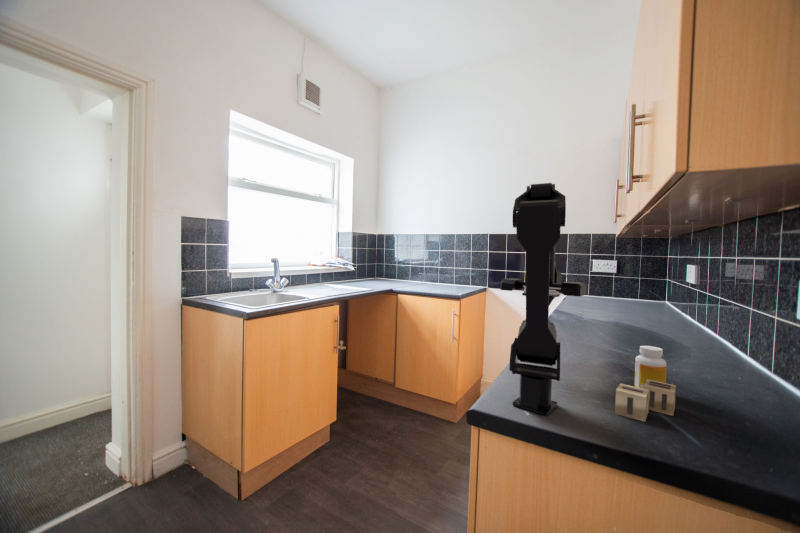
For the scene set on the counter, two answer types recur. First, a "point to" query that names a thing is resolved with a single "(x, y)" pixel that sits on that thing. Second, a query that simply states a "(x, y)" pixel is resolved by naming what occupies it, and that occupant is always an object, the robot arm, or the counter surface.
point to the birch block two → (661, 396)
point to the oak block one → (632, 402)
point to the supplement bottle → (649, 366)
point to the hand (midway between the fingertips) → (540, 321)
